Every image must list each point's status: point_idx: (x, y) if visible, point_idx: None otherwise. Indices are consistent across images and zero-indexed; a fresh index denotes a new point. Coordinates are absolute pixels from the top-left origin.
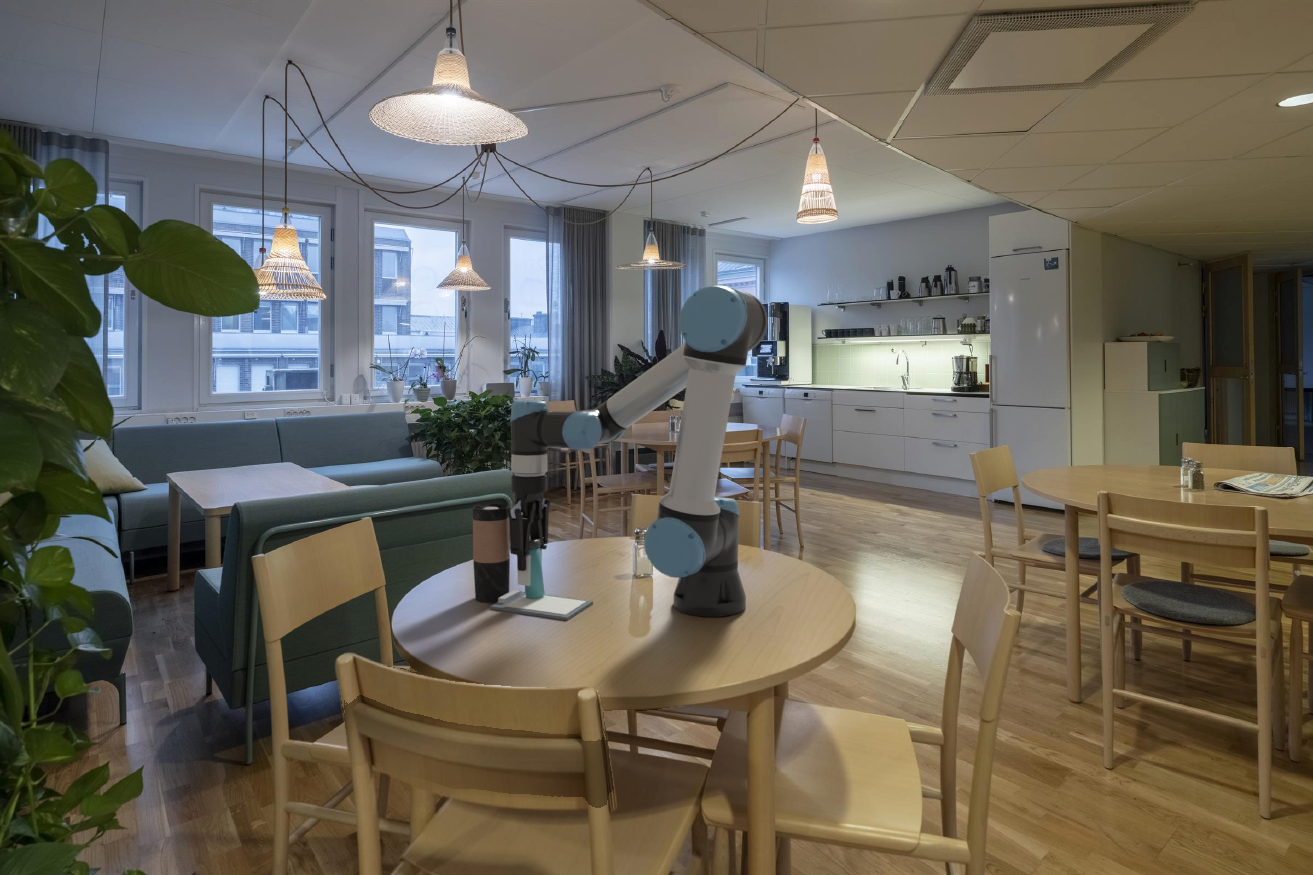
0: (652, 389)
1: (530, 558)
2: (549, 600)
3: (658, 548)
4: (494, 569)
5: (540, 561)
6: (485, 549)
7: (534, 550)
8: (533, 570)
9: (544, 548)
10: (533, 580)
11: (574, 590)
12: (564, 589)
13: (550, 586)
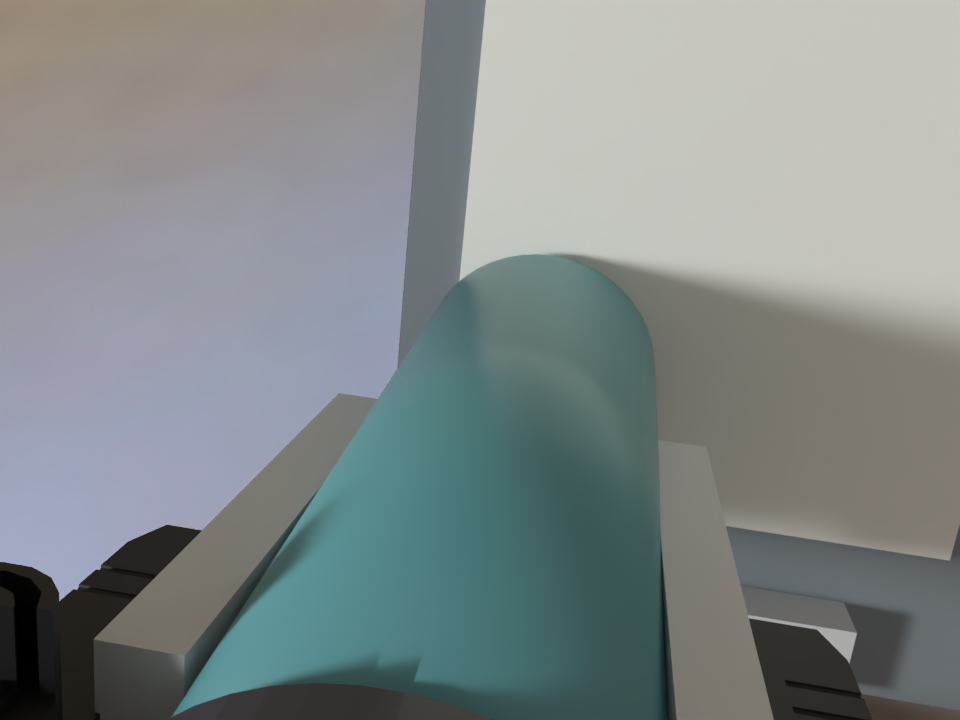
0: None
1: (676, 682)
2: (634, 129)
3: None
4: None
5: (447, 465)
6: None
7: None
8: (645, 487)
9: (47, 588)
10: (649, 419)
11: (56, 49)
12: (70, 185)
13: (41, 383)
